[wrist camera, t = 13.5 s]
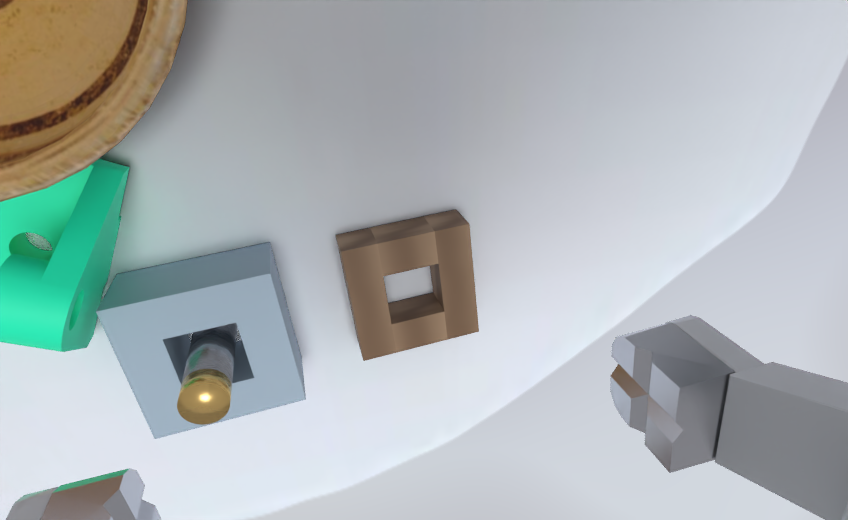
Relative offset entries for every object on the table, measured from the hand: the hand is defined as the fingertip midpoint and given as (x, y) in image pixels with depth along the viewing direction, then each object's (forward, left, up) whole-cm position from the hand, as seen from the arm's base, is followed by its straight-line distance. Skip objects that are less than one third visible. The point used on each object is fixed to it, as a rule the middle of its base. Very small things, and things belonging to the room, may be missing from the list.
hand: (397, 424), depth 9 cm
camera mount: (+17, +4, -30) cm, 34 cm away
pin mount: (-5, +13, -29) cm, 32 cm away
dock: (+9, +13, -29) cm, 33 cm away
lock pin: (+9, +13, -29) cm, 33 cm away
